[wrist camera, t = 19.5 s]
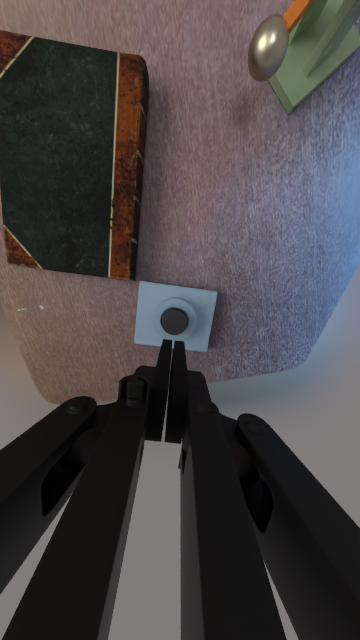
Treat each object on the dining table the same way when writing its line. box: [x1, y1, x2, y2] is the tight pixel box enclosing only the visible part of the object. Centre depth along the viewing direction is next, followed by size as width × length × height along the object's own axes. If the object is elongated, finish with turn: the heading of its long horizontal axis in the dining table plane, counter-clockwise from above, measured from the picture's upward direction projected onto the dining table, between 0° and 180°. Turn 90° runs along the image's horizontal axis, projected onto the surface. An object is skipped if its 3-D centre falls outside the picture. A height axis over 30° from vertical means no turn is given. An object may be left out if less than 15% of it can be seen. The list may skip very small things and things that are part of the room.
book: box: [0, 30, 149, 281], centre depth 24 cm, size 17×4×25 cm
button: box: [162, 309, 187, 335], centre depth 26 cm, size 4×4×2 cm
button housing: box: [134, 281, 218, 352], centre depth 28 cm, size 12×10×4 cm
